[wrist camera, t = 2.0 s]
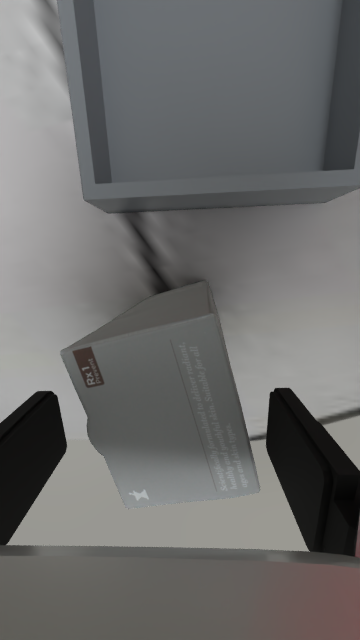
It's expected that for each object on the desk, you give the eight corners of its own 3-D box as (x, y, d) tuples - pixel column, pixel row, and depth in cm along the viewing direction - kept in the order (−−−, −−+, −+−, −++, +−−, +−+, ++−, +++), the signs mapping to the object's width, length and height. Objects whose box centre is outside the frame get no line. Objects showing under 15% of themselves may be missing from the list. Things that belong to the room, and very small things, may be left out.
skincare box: (226, 349, 24) (284, 501, 9) (164, 365, 25) (123, 526, 10) (207, 274, 22) (240, 306, 7) (140, 293, 23) (42, 359, 8)
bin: (365, -127, 15) (448, -312, 10) (324, 202, 20) (366, 184, 15) (75, -89, 16) (25, -238, 11) (108, 213, 21) (83, 199, 17)
